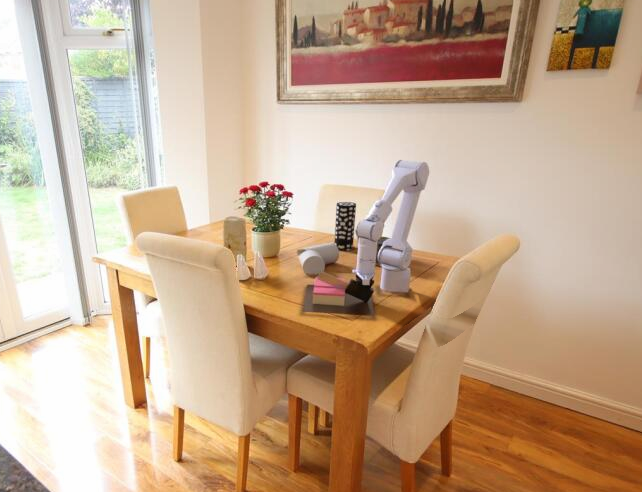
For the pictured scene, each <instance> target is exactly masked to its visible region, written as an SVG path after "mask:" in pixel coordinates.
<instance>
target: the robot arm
mask: <svg viewBox="0 0 642 492" xmlns="http://www.w3.org/2000/svg"><path fill="white" fill-rule="evenodd" d="M429 176H430V169H429V165H428V162H426V161H422V162H421V161H411V160H410V161H409V160H403V159H398V160H397V161H395V163H394V165H393V167H392V169H391V179H390V181H389V183H388V186H387V187H386V189H385V190H384V191H385V192H384V193H383V195H382V197H381V199H377V200H376V201H375V202H374V204H373V205H372V207H371V209H370V210H369V212H368V214H367V215H366V216H365V218H364V219H362V220H360V221H359V222H358V223H357V225H356V228H355V229H354V235H355V236H356V242H357V255H356V256H357V257H356V269H352V272H351V273H352V274H354V275H355V281H356V282H357V285H358V288H359V296H360V300H367V297H368V294H369V291H370V289H371V288H373V286H374V284H375V280H374V277H375V275H376V265H375V263H376V253H377V243H378V240H379V239H380V237H381V236H382V237H383V233H384V229H385V223H386V221H387V220H388V218H389V216H390V215H391V213H392V212H393V206H392V205H393V203H394V202H395V201H396V199H397V198H398V196H399V195H400V194H401V193H402V191H403V194H402V198H401V200H400V201H401V202H400V205H399V208H398V212H397V216H396V219H395V223H394V226H393V230H392V233H391V237H389V238H390V239H388V240H386V241H384V242H383V245H382V247H381V249H380V250H379V253H378V261H379V263H381V265H380V266H379V267H381V275H380V276H381V277H380V284H379V285H380V286H379V288H380V290H381V291H383V292H387V293H405V294H406V293H407V294H408V293H409V291H410V283H411V275H412V274H411V273H412V272H411V268H410V267H409V266H411V265H410V264H411V262H412V255H413V247H412V246H411V244H409V242H408V237H409V234H410V230H411V227H412V224H413V220H414V217H415V214H416V210H417V207H418V204H419V201H420V196H421V192H422V191H424V190H425V189H426V186H427V183H428V179H429ZM391 247H392V248H391Z"/></svg>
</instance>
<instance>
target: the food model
mask: <svg viewBox="0 0 642 492" xmlns="http://www.w3.org/2000/svg"><path fill="white" fill-rule="evenodd" d="M222 222H223V223H222V247H226V248H228V249H230V250H231V251H232V253H233V255H234V258H235V262H236V265H237V256H238V255H240V258H241V254H242V255H243V257H244V259H245V262H246V263H247V251H248V248H247V229H246V219H245V218H243V217H240V216H239V217H238V216H228V217H224V218H223V221H222Z"/></svg>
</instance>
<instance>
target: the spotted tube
mask: <svg viewBox="0 0 642 492" xmlns="http://www.w3.org/2000/svg"><path fill="white" fill-rule="evenodd" d="M335 209H336V210H335V224H334V225H335V226H334V241H333V243H334V244H335V245H336V246H337V247H338V250H339V251H342V252H343V251H344V252H346V251H351V250H353V249H354V239H355V225H356V213H357V203H355V202H351V201H340V202H336V207H335Z"/></svg>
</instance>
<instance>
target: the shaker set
mask: <svg viewBox="0 0 642 492" xmlns="http://www.w3.org/2000/svg"><path fill="white" fill-rule="evenodd" d="M237 271H238V276H239V280H238V281H246V280H248V279H249V278H250V277H252V273H251V271H250V269H249V266H248V264H247V262H245V259H244V257H243V255H242V254H241V258H240V255H238V256H237V267H236V272H237ZM268 274H269V270H268V268H267V264H266V263H265V260H264V258H263V255H262V253H261V251H255V252H254V263H253V278H254V279H257V280H258V281H262V280H265V279H266V278H267V276H268Z"/></svg>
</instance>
